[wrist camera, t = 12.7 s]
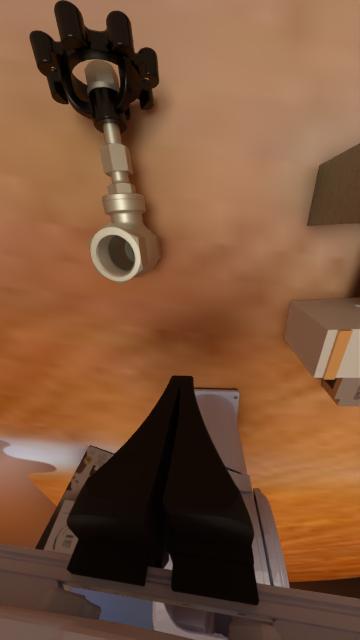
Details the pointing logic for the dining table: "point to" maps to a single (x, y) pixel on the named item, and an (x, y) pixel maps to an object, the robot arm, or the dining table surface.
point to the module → (326, 336)
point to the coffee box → (70, 506)
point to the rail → (339, 208)
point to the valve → (106, 125)
